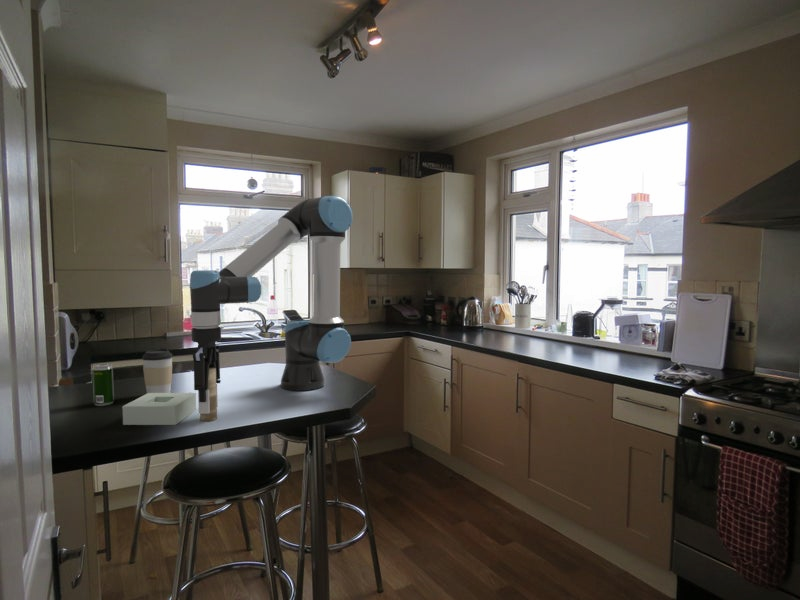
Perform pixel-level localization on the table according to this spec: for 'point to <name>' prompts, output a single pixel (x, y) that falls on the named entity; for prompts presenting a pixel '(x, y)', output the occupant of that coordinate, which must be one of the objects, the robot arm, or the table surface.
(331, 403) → the table surface
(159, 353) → the coffee cup
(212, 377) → the beech pin
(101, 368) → the beer can
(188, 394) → the bore block
